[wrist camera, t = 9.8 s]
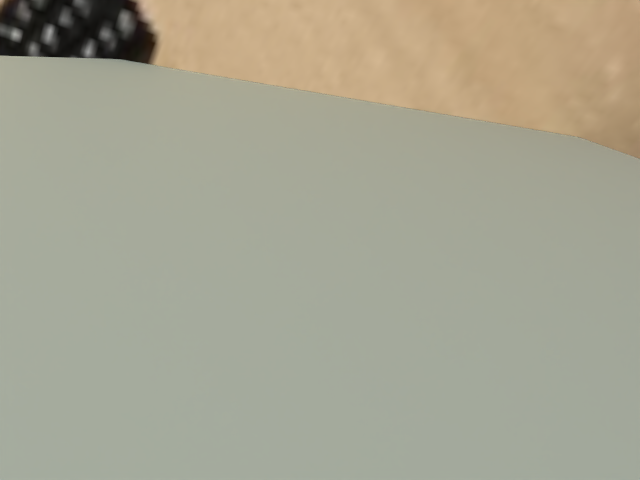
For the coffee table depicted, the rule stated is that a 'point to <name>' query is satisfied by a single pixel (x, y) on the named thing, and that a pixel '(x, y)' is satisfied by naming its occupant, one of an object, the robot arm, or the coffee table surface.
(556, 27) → the coffee table surface
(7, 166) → the wall board
